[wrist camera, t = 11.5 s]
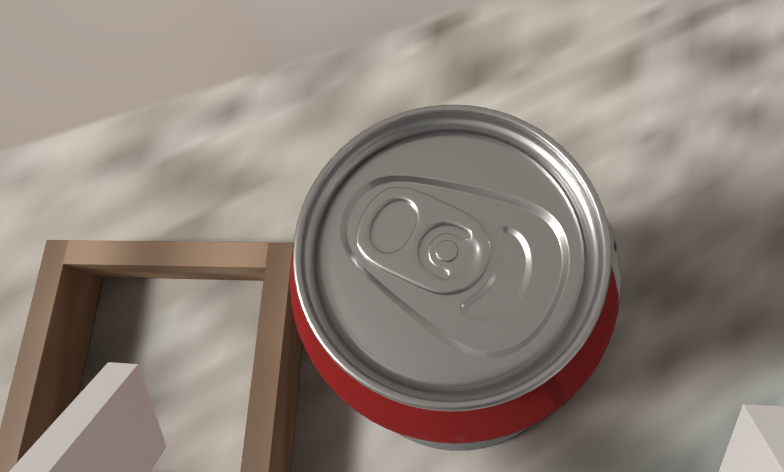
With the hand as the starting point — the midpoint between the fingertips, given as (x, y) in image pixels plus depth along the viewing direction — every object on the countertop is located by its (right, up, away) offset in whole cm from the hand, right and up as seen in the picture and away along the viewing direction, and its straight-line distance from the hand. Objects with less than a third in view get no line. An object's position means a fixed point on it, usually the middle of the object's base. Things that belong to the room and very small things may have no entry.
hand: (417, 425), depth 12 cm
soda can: (+2, +1, +9) cm, 9 cm away
